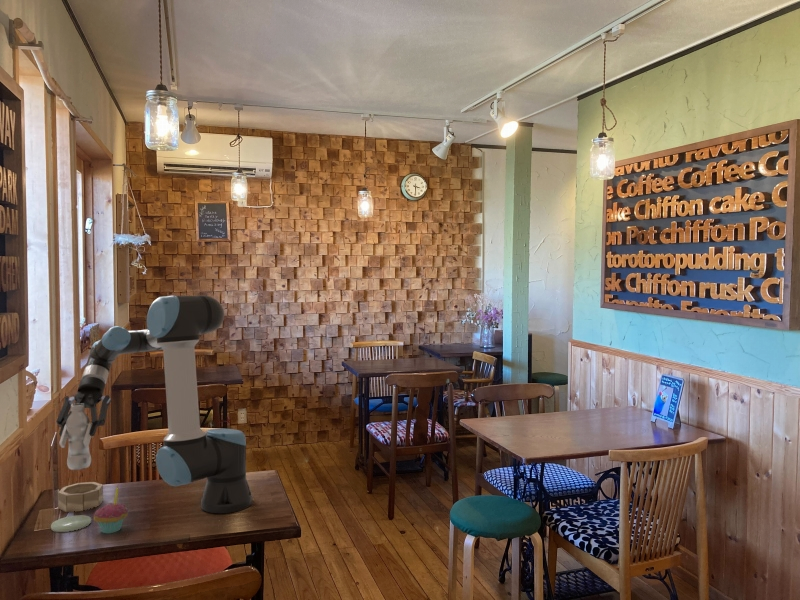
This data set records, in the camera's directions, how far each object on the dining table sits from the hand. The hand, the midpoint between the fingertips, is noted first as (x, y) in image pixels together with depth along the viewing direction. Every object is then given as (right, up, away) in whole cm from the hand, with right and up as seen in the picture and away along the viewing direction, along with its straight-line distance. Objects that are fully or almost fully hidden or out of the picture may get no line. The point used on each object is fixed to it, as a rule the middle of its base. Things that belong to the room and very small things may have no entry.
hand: (73, 445), depth 186 cm
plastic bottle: (0, -9, +4) cm, 9 cm away
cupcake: (+19, -20, -15) cm, 31 cm away
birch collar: (0, -19, +4) cm, 19 cm away
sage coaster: (+6, -20, -12) cm, 24 cm away
